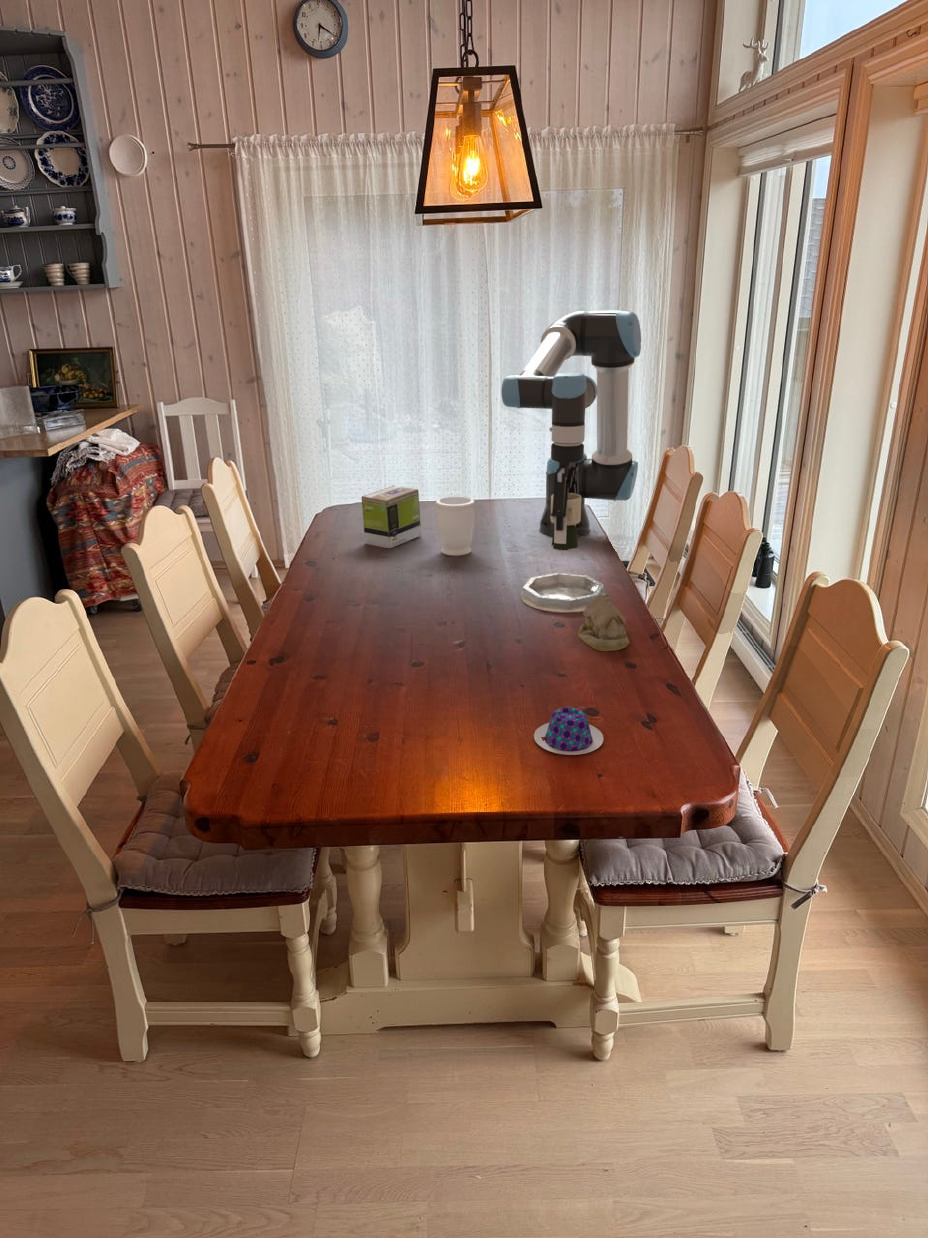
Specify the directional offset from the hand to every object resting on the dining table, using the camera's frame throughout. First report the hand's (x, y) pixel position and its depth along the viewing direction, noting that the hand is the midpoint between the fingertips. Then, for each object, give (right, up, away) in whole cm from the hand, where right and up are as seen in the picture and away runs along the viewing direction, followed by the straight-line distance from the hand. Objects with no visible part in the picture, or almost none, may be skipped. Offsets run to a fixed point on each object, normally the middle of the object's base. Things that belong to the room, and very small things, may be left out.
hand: (565, 537), depth 212 cm
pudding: (-6, -41, -58) cm, 71 cm away
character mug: (0, -3, +1) cm, 3 cm away
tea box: (-45, +4, +52) cm, 69 cm away
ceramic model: (+7, -24, -18) cm, 30 cm away
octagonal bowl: (0, -14, +6) cm, 15 cm away
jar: (-26, -1, +41) cm, 49 cm away
